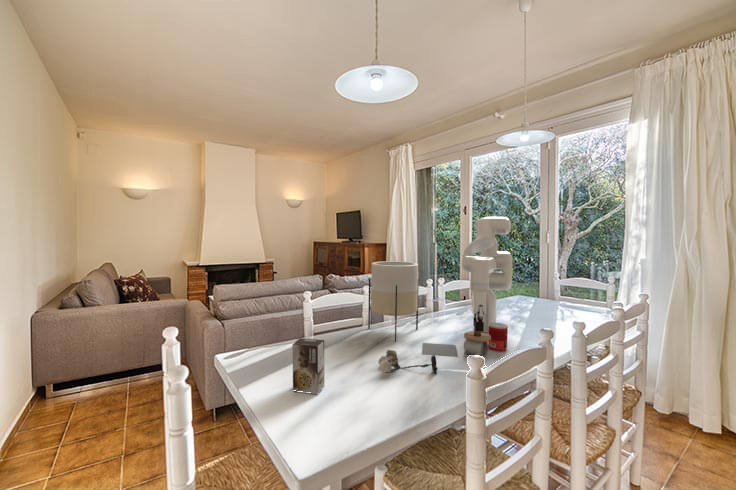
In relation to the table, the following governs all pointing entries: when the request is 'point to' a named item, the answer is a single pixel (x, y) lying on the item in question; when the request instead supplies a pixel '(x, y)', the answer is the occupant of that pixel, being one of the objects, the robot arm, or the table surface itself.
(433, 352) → the mat
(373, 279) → the planter
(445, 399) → the table surface
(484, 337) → the lid
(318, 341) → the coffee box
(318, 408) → the table surface
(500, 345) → the canned food
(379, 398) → the table surface
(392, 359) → the artificial flower
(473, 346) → the ceramic mug
